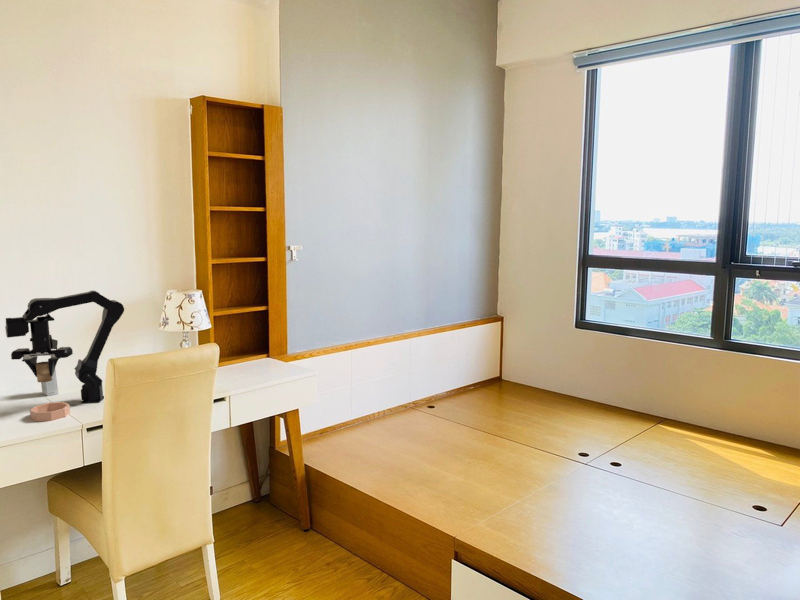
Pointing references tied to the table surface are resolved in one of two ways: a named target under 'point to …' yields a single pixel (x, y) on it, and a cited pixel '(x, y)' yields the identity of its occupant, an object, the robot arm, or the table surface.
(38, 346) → the robot arm
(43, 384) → the skincare box
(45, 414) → the pink octagonal ring
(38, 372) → the oak tube
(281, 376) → the table surface
